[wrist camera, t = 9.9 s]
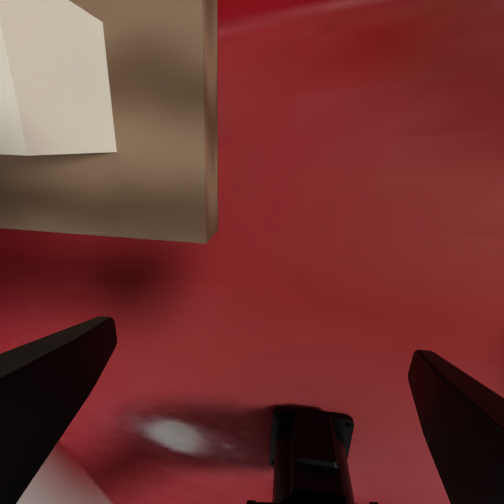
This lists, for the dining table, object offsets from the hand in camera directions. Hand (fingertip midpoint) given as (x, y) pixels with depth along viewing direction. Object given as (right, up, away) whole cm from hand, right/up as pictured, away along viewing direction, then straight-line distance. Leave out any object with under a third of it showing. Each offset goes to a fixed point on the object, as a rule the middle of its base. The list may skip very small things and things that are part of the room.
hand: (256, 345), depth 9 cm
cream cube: (-10, +11, +7) cm, 17 cm away
